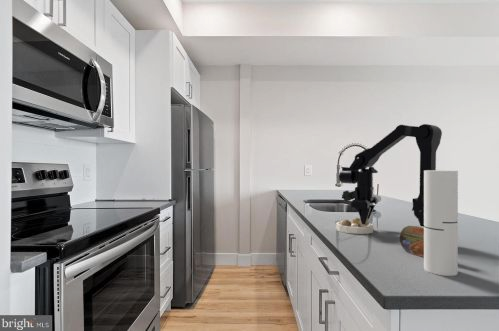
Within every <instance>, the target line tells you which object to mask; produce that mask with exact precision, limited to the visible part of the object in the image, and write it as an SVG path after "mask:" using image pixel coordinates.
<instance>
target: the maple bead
mask: <svg viewBox="0 0 499 331" xmlns="http://www.w3.org/2000/svg"><path fill="white" fill-rule="evenodd" d="M359 219H360V218H359ZM369 223H370V218H369V219H368V218H367V220H366V223H365V225H363V224H362V223H361V219H360V224H361V225H362V226H368V225H369Z"/></svg>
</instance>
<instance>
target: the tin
mask: <svg viewBox="0 0 499 331" xmlns="http://www.w3.org/2000/svg"><path fill="white" fill-rule="evenodd" d="M399 243H400V245H401V247H402V249H403V250H404V251H405V252H406V253H408V254H410V255H413V256H417V257H419V258H420V257H421V258H423V259H424V227H423V226H418V225H407V226H405V227H404V228H402V229H401V231H400V234H399Z"/></svg>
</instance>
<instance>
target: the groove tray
mask: <svg viewBox="0 0 499 331" xmlns="http://www.w3.org/2000/svg"><path fill="white" fill-rule="evenodd" d="M343 221H344V220H342V221H337V222H336V223H335V230H336V231H338V232H341V233H345V234H353V235H369V234H373V233H374V224H372V223H370V222H369V225H368V226H362V225H360V226H358V224H355V223H352V220H349V221H350V222H351V227H349V226H343V225H342V222H343Z"/></svg>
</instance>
